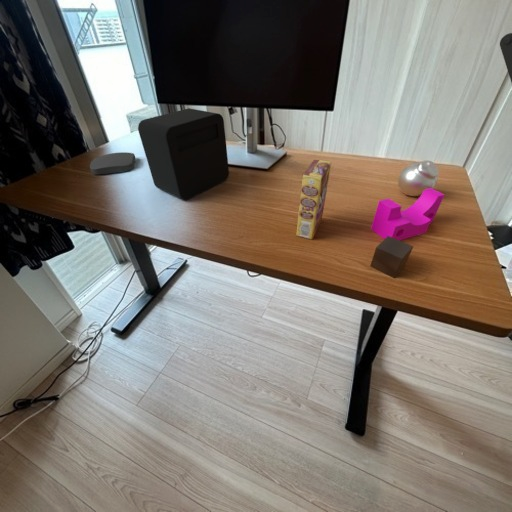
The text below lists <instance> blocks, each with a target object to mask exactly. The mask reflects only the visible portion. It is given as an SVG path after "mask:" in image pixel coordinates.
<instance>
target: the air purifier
mask: <svg viewBox="0 0 512 512" xmlns="http://www.w3.org/2000/svg"><path fill="white" fill-rule="evenodd" d="M137 125H138V126H137V129H138V135H139V138H140V141H141V144H142V148H143V152H144V154H145V159H146V161H147V165H148V168H149V172H150V174H151V178H152V181H153V184H154V186H155V188H157V189H158V190H161V191H163V192H165V193H167V194H170V195H172V196H174V197H176V198H179V199H180V200H183V201H188V200H190V199H192V198H195V197H196V196H198V195H200V194H203V193H204V192H207V191H208V190H210V189H212V188H214V187H217V186H218V185H220V184H222V183H224V182H226V181H227V180H228V178H229V177H230V176H229V175H230V168H229V158H228V149H227V139H226V129H225V128H226V127H225V120H224V117H223V115H222V114H220V113H217V112H212V111H207V110H200V109H195V108H185V109H181V110H176V111H172V112H168V113H165V114H161V115H157V116H153V117H148V118H145V119H142V120H141V121H139V123H138V124H137Z"/></svg>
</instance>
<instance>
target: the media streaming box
mask: <svg viewBox="0 0 512 512" xmlns="http://www.w3.org/2000/svg"><path fill="white" fill-rule="evenodd" d="M136 161H137V158H136V155H135V153H132V152H126V151H125V152H121V151H120V152H113V153H107V154H103V155H101V156H98V157H95V158H93V159H92V160H91V162H90V164H89V170H90V172H91V174H92V175H108V174H116V173H123V172H128V171H131V170H133V169H134V168H135V166H136Z"/></svg>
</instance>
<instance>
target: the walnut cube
mask: <svg viewBox="0 0 512 512" xmlns="http://www.w3.org/2000/svg"><path fill="white" fill-rule="evenodd" d="M413 248H414V245H411V244H409V243H407V242H404V241H403V240H397V239H394V238H392V237H390V236H387V237H386V238H385V239H382V241H381V242H380V243H379V244H378V245H377V246H376V247H375V249H374V253H373V256H372V259H371V261H370V267H371V268H373V269H375V270H377V271H379V272H380V273H383V274H385V275H387V276H389V277H391V278H393V279H395V278H396V277H397V276H398V275H399V273H400V272H401V271H402V270H403V269H404V267H405V266H406V265H407V262H408V260H409V258H410V256H411V254H412V251H413Z"/></svg>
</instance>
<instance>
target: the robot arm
mask: <svg viewBox="0 0 512 512" xmlns="http://www.w3.org/2000/svg"><path fill="white" fill-rule="evenodd" d="M499 47H500V50H501V54H502V57H503V60H504V63H505V66H506V70H507V73H508V76H509V79H510V83H511V84H512V32H509V33H506V34H505V35H504V36H502V38H500V40H499Z"/></svg>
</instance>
